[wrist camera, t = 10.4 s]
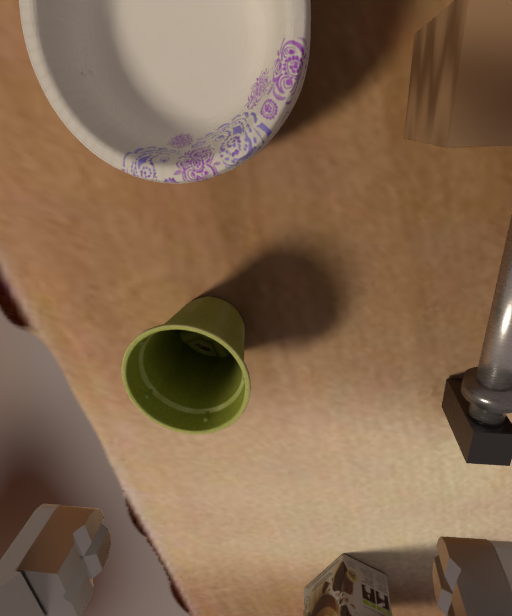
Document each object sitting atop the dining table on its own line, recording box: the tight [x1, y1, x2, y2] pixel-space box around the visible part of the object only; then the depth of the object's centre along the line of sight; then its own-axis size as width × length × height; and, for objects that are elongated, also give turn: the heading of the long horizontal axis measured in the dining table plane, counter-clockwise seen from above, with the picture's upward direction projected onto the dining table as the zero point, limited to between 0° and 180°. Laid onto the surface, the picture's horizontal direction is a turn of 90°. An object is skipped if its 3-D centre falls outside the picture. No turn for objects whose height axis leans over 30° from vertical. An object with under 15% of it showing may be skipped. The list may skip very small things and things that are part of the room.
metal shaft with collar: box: [442, 216, 512, 466], centre depth 29 cm, size 20×4×7 cm, turn 3°
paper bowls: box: [19, 0, 311, 184], centre depth 23 cm, size 15×15×8 cm
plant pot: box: [122, 297, 251, 435], centre depth 32 cm, size 9×9×9 cm
